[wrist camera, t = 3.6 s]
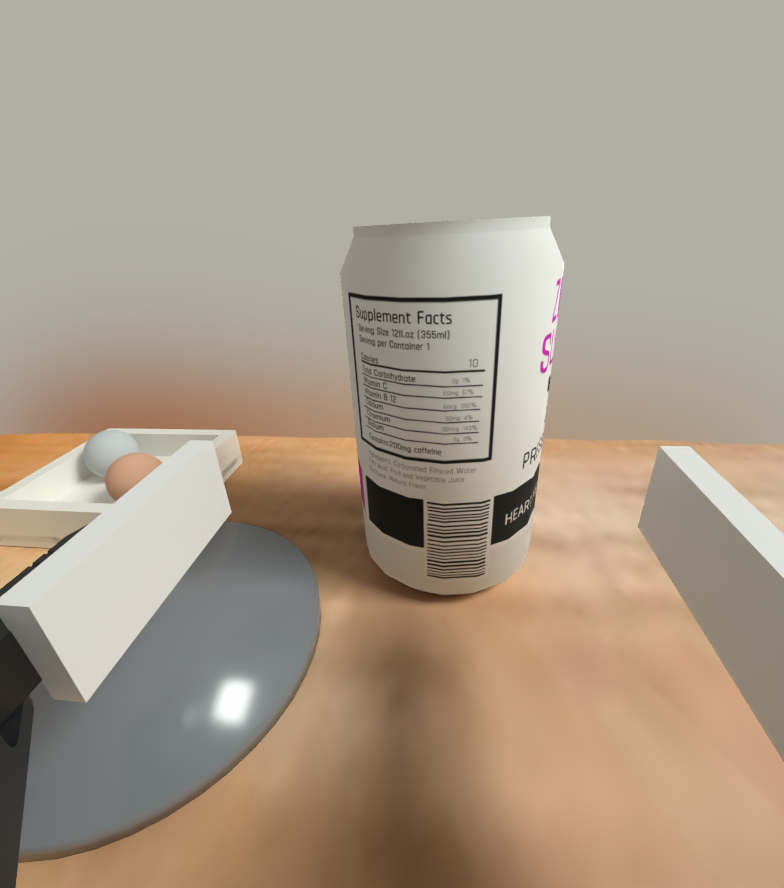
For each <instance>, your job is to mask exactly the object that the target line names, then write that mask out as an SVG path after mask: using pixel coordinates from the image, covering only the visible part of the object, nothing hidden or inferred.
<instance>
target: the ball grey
mask: <svg viewBox="0 0 784 888" xmlns="http://www.w3.org/2000/svg"><path fill="white" fill-rule="evenodd" d="M138 452H140V453H141V451H140V447H139V445H138V443H137V441H136V440H135V439H134V438H133V437H132V436H131V435H129V434H127V433H125V432H122V431H118V430H106V431H102V432H99V433H97V434H95V435H94V436H92V437H91V438H90V439H89V440H88V441H87V443H86V444H85V447H84V450H83V459H84V462H85V464H86V466H87V467H88V469H89V470H90V471H92V472H93V473H94V474H96V475H98V476H101V477H104V478H105V476H106V473H107V470H108V468H109V467H110V465H111V464H112V463H113V462H114V461H115V460H117V459H118V458H120V457H121V456H123V455H126V454H129V453H138Z"/></svg>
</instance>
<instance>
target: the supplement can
mask: <svg viewBox="0 0 784 888" xmlns="http://www.w3.org/2000/svg"><path fill="white" fill-rule="evenodd" d="M353 229H354V230H353V231H354V238H353V240H352V243H351V246H350V248H349V251H348V254H347V256H346V259H345V262H344V264H343V267H342V270H341V272H340V275H341V284H342V296H343V306H344V317H345V327H346V337H347V347H348V357H349V368H350V378H351V390H352V400H353V410H354V421H355V431H356V442H357V452H358V463H359V473H360V483H361V494H362V504H363V515H364V525H365V536H366V541H367V545H368V549H369V553H370V557H371V558H372V559H373V560H374V561H375V562H376V564H377V565H378V566H379V567H380V568H381V569H382V571H383V572H384V573H385V574H386V575H388V576H390V577H392V578H394V579H396V580H398V581H400V582H401V583H403V584H405V585H407V586H409V587H411V588H414V589H416V590H419V591H424V592H429V593H433V594H438V595H443V596H444V595H460V594H471V593H474V592H478V591H481V590H483V589H486V588H489V587H491V586H494V585H497V584H500V583H502V582H505V581H506V580H507V579H508V578H509V577H510V576H511V575H512V574H514V573H515V572H516V571H517V570H518V569H519V568H520V567H521V566H523V563H524V560H525V557H526V555H527V552H528V549H529V545H530V537H531V529H532V521H533V513H534V505H535V497H536V489H537V481H538V473H539V465H540V456H541V448H542V440H543V432H544V424H545V416H546V407H547V399H548V392H549V384H550V376H551V368H552V360H553V351H554V344H555V335H556V327H557V319H558V311H559V303H560V295H561V287H562V279H563V270H564V262H563V259H562V257H561V254H560V252H559V249H558V246H557V244H556V242H555V239H554V236H553V234H552V231H551V229H550V216H540V217H520V218H501V219H500V218H499V219H480V220H463V221H443V222H426V223H408V224H391V225H374V226H360V227H359V226H358V227H353Z"/></svg>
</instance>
